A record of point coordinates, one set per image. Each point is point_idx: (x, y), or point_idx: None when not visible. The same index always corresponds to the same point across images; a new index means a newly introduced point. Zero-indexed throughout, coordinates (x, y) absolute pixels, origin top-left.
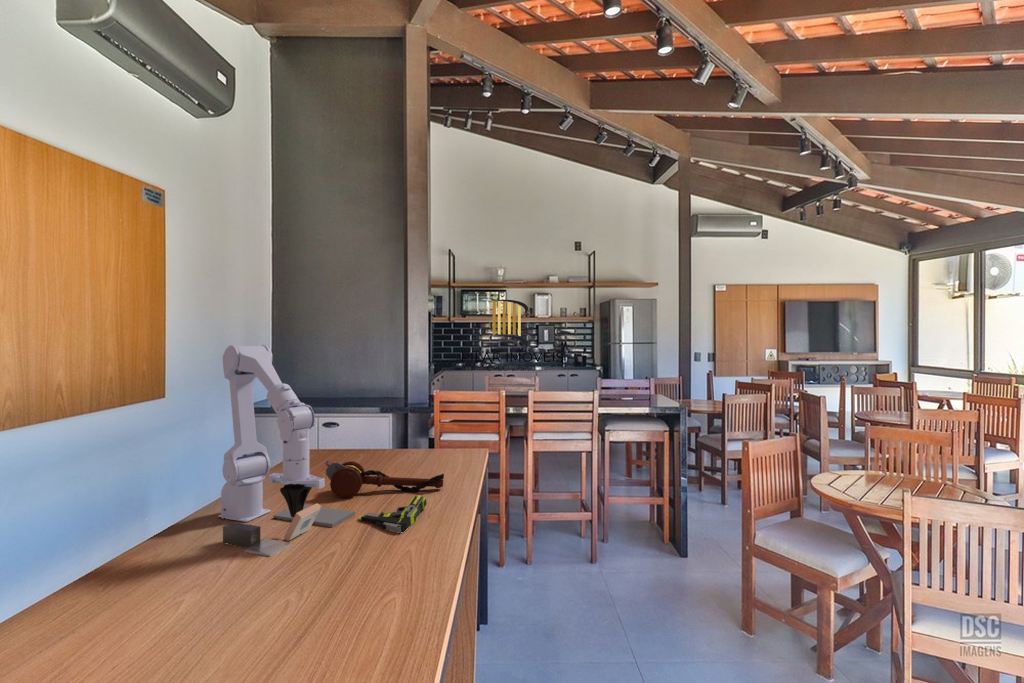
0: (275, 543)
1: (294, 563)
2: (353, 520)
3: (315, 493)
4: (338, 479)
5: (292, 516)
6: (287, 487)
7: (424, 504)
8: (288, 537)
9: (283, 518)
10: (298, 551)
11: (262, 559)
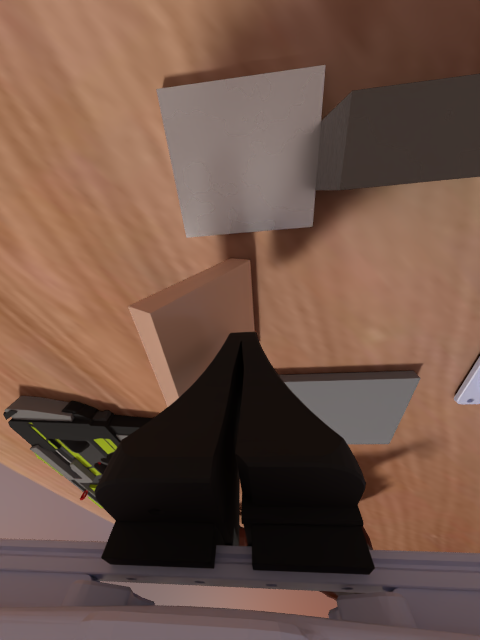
0: (238, 204)
1: (4, 86)
2: None
3: (392, 486)
4: None
5: (245, 332)
6: (303, 505)
7: None
8: (227, 262)
9: (374, 375)
10: (114, 201)
11: (163, 37)
